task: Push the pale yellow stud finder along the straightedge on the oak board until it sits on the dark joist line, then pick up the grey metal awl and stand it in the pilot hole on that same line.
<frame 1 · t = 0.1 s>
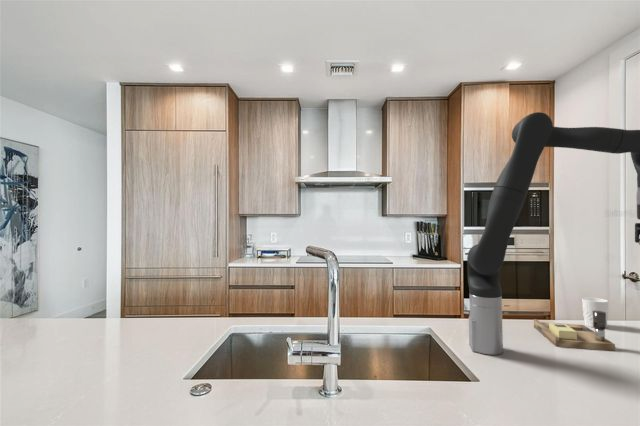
white cup: (595, 326, 128), on the countertop
stud finder: (562, 330, 113), point 4 cm above the countertop, slide at 0.0 cm
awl: (600, 340, 108), point 2 cm above the countertop, touching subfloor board
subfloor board: (570, 337, 116), on the countertop
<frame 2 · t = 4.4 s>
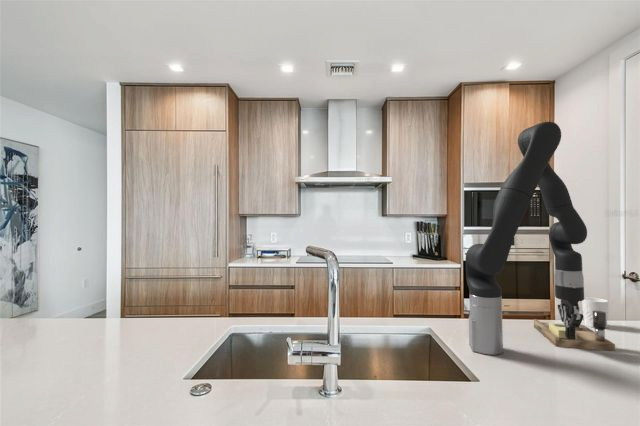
hand: (570, 338, 107), 3 cm above the countertop, tool pointing down, fingers closed
stud finder: (562, 330, 113), point 3 cm above the countertop, slide at 0.2 cm, touching gripper
everything else where it was.
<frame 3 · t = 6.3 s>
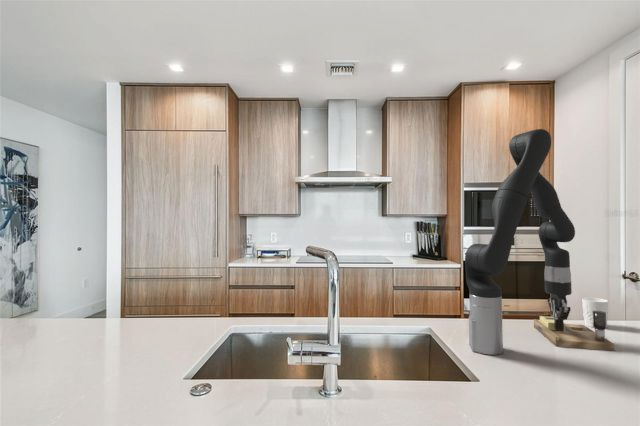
hand: (559, 330, 115), 3 cm above the countertop, tool pointing down, fingers closed
stud finder: (551, 323, 121), point 4 cm above the countertop, slide at 8.8 cm, touching gripper
everything else where it was.
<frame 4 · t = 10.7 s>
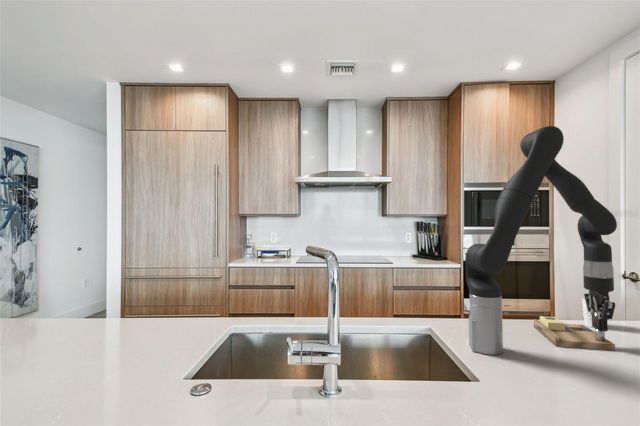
hand: (599, 328, 108), 6 cm above the countertop, tool pointing down, fingers closed on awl, 3 cm apart
stud finder: (551, 323, 121), point 4 cm above the countertop, slide at 8.8 cm
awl: (600, 340, 108), point 2 cm above the countertop, touching gripper, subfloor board
everything else where it was.
when the fingers open (4 cm above the countertop, at t = 15.2 s): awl stays where it is, resting in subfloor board.
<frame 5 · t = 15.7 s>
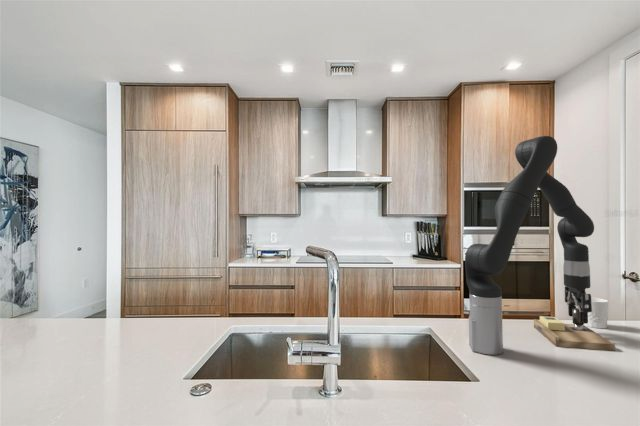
hand: (577, 319, 119), 5 cm above the countertop, tool pointing down, fingers open, 8 cm apart
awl: (578, 334, 119), resting in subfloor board
everything else where it was.
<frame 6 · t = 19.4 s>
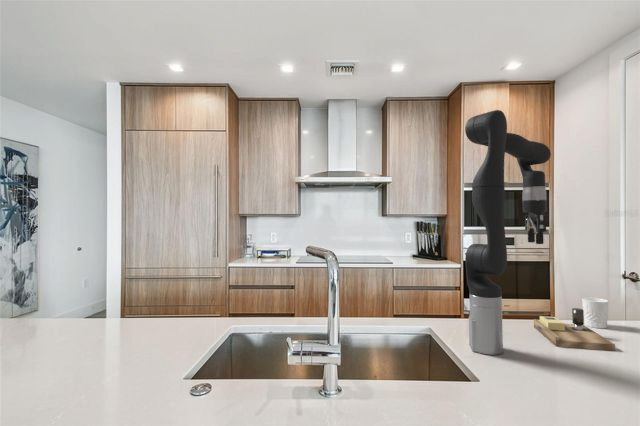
hand: (535, 243, 125), 32 cm above the countertop, tool pointing down, fingers open, 8 cm apart
nothing on the countertop moved.
at the end: stud finder slide at 8.8 cm; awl 0.0 cm from the target spot on the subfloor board, point 0.0 cm above the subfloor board's base; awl tilted 0° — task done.
